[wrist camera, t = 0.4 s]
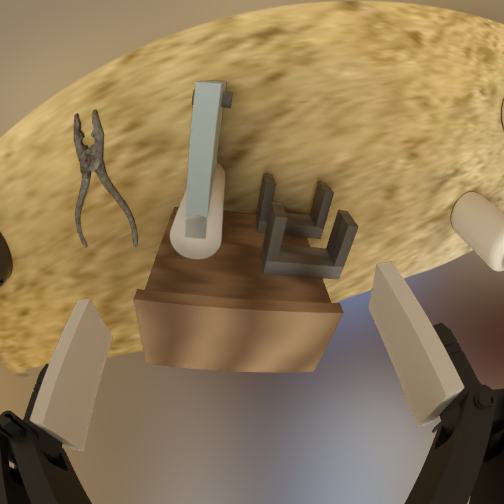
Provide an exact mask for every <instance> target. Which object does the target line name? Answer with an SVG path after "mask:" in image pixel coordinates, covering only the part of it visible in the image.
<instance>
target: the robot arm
mask: <svg viewBox="0 0 504 504" xmlns="http://www.w3.org/2000/svg"><path fill="white" fill-rule="evenodd" d="M11 272H12V260H11V255H10V252H9V249H8V247H7V244H6V242H5V240H4V239H3V237H2V235H1V234H0V287H1V286H2V285H3V284H4V283H5V282H6V281H7V279H8V278H9V276H10V275H11ZM368 308H369V311H370V313H371V315H372V317H373V319H374V322H375V324H376V326H377V328H378V330H379V333H380V335H381V337H382V340H383V342H384V344H385V347H386V349H387V351H388V354H389V356H390V358H391V361H392V363H393V366H394V368H395V371H396V373H397V376H398V378H399V381H400V383H401V386H402V389H403V391H404V394H405V396H406V399H407V402H408V404H409V407H410V410H411V412H412V416H413V419H414V421H415V424H416V427H417V428H418V427H421V426H423V425H426V424H428V423H431V422H433V421H434V420H435V419H436V418H437V417H438V416H440V418H441V422H440V423H439V424H438V425H436V427H434V429H433V431H432V432H433V433H434V432H435V431H436V430H437V429H438V430H437V433H436V436H435V438H434V441H433V444H432V446H431V448H430V451H429V454H428V456H427V458H426V461H425V463H424V465H423V467H422V470H421V472H420V474H419V476H418V478H417V480H416V483H415V484H414V486H413V489H412V490H411V492H410V494H409V496H408V498H407V500H406V502H405V504H467V503H468V500H469V498H470V501H469V504H504V389H496V390H492V389H491V388H490V387H488V386H486V385H482V384H480V382H479V381H478V379H477V377H476V375H475V373H474V372H473V369H472V367H471V365H470V364H469V362H468V360H467V358H466V356H465V354H464V352H463V351H462V350H461V347H460V345H459V344H458V343H457V340H456V338H455V337H454V335H453V333H452V331H451V330H450V329H448V328H447V327H446V326H445V325H444V324H443V323H439V324H436V325H433V326H432V324H431V323H430V321H429V319H428V317H427V316H426V314H425V312H424V311H423V309H422V307H421V306H420V304H419V302H418V301H417V300H416V298H415V296H414V294H413V293H412V291H411V290H410V288H409V287H408V285H407V283H406V282H405V280H404V279H403V277H402V276H401V274H400V273H399V271H398V270H397V268H396V267H395V265H394V264H393V262H392V261H391V262H385V263H379V264H377V266H376V271H375V277H374V282H373V288H372V293H371V298H370V303H369V307H368ZM112 339H113V335H112V334H111V332H110V331H109V329H108V328H107V326H106V325H105V323H104V321H103V320H102V318H101V317H100V315H99V313H98V312H97V310H96V308H95V307H94V305H93V303H92V302H91V300H90V299H83V300H78V301H77V303H76V305H75V307H74V309H73V311H72V313H71V315H70V317H69V320H68V322H67V324H66V326H65V328H64V330H63V333H62V335H61V337H60V339H59V342H58V344H57V346H56V349H55V351H54V353H53V356H52V358H51V361H50V363H49V364H46V365H45V367H44V368H43V369H42V370H41V372H40V374H39V377H38V379H37V384H35V387H34V392H33V393H32V395H31V398H30V401H29V405H28V407H27V410H26V413H25V417H24V419H23V420H21V419H20V418H19V417H18V416H16V415H15V414H14V413H13V412H11V411H5V412H3V413H2V414H1V415H0V504H92V503H91V502H90V500H89V498H88V496H87V494H86V492H85V491H84V489H83V487H82V485H81V483H80V481H79V479H78V477H77V475H76V473H75V471H74V469H73V467H72V465H71V463H70V461H69V458H68V456H67V454H66V452H65V450H64V449H63V448H62V443H63V444H65V445H66V446H68V447H69V448H72V449H76V450H80V451H84V447H85V442H86V437H87V432H88V428H89V423H90V419H91V414H92V410H93V406H94V402H95V398H96V394H97V390H98V387H99V383H100V379H101V376H102V372H103V368H104V365H105V362H106V358H107V355H108V352H109V349H110V345H111V342H112ZM9 461H10V462H12V463H14V465H15V466H14V469H13V468H11V467H9ZM470 495H471V496H470Z"/></svg>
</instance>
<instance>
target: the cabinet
mask: <svg viewBox="0 0 504 504" xmlns="http://www.w3.org/2000/svg"><path fill="white" fill-rule="evenodd" d="M275 185H276V184H275V182H274V179H273V176H272V175H267V174H263V180H262V186H261V192H260V198H259V204H258V210H257V215H255V214H245V213H234V212H224V211H223V221H222V238H221V244H220V247H219V249H218V250H217V251H216V252H215V253H214V254H213V255H211V256H210V257H207V258H204V259H190V258H187V257H184V256H182V255H181V254H179V253H178V252H177V251H176V250H175V249H174V247H173V246H172V244H171V241H170V231H171V228H172V225H173V222H174V219H175V217H176V214H177V211H178V208H176V207H175V208H174V210H173V213H172V215H171V218H170V221H169V223H168V226H167V228H166V231H165V234H164V236H163V239H162V242H161V245H160V247H159V250H158V253H157V256H156V259H155V262H154V264H153V267H152V270H151V273H150V276H149V279H148V282H147V285H146V288H145V290H140V289H137V291H136V294H135V297H134V304H135V310H136V315H137V321H138V326H139V331H140V335H141V340H142V345H143V349H144V353H145V358H146V362H147V364H155V365H163V366H171V367H182V368H192V369H204V370H205V369H206V370H219V371H240V372H313V371H314V369H315V367H316V365H317V364H318V362H319V360H320V358H321V356H322V354H323V353H324V351H325V349H326V347H327V345H328V343H329V341H330V339H331V337H332V335H333V333H334V331H335V330H336V328H337V326H338V323H339V321H340V319H341V317H342V315H343V310H342V308H341V305H340V303H331V301H330V298H329V295H328V292H327V290H326V287H325V284H324V282H323V279H322V278H327V279H339V277H340V275H341V272H342V270H343V267H344V265H345V262H346V259H347V257H348V254H349V251H350V249H351V246H352V243H353V240H354V238H355V235H356V232H357V229H358V225H357V224H356V223H355V221H354V220H353V218H352V217H351V216H350V214H349V213H348V211H342V210H338V213H337V216H336V219H335V222H334V226H333V229H332V232H331V235H330V238H329V241H328V245H327V248H326V249H323V248H312V247H310V245H309V243H308V240H307V238H316V239H321V236H322V232H323V229H324V226H325V222H326V219H327V215H328V212H329V208H330V205H331V201H332V198H333V194H334V193H333V191H332V190H331V189H330V187H329V186H328V185H327V184H326V183H322V182H318V186H317V190H316V194H315V198H314V202H313V206H312V209H311V213H310V215H304V214H296V213H288V212H285V210H284V207H283V204H282V202H274V201H273V196H274V190H275ZM306 237H307V238H306Z"/></svg>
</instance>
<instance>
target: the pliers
mask: <svg viewBox="0 0 504 504" xmlns="http://www.w3.org/2000/svg"><path fill="white" fill-rule="evenodd" d="M92 123H93V131H92V133H91V136H92V137H94V139H95V143H94V145H92V146H91V148H89V149H88V146H85V145H84V144H83V143H82V139H83V138H84V137H85V136H84V133H83V132H82V131H81V122H80V119H79V115H78V113H77V114H75V116H74V142H75V147H76V151H77V155H78V158H79V162H80V161H81V162H80V169H81V173H82V182H81V188H80V193H79V197H78V201H77V205H76V212H75V220H76V226H77V231H78V234H79V237H80V239H81V241H82V244H83V245H84V247H85V248H86V247H87V243H86V241H85V239H84V236H83V233H82V229H81V223H80V214H81V209H82V205H83V202H84V199H85V196H86V193H87V190H88V187H89V182H90V176H91V171H92V170H94V171H95V172H96V173H97V175H98V177H99V179H100V180H101V182H102V183H103V185H104V187H105V188H106V189H107V190H108V192H109V193H110V194H111V195H112V196H113V198H114V199H115V200H116V201H117V202H118V204H119V205H120V206H121V208H122V209H123V210H124V212H125V214H126V215H127V217H128V220H129V222H130V225H131V228H132V233H133V245H134V247H136V246H137V242H138V237H137V229H136V225H135V221H134V218H133V215H132V213H131V211H130V209H129V207H128V206H127V204H126V203H125V201H124V200H123V198H122V197H121V196H120V194H119V193H118V191H117V190H116V189H115V187H114V186H113V184H112V183H111V181H110V179H109V177H108V175H107V173H106V170H105V165H104V161H103V144H104V133H103V129H102V126H101V123H100V120H99V116H98V113H97V110H93V118H92ZM96 168H97V169H96Z"/></svg>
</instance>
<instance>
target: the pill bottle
mask: <svg viewBox="0 0 504 504" xmlns="http://www.w3.org/2000/svg"><path fill="white" fill-rule="evenodd" d="M451 223H452V227H453V229H454V230H455V231H456V233H457V234H458V235H459V236H460V237H461V238H462V239H463V240H464V241H465V242H466V243H467V244H468V245H469V246H470V247H471V248H472V249H473V250H474V251H476V253H477V254H478V255H479V256H480V257H481V258H482V259H483V260H484V261H485V262H486V263H487V264H488V266H489V267H490V268H491V269H493V270H495V271H503V270H504V212H502V211H501V210H500V209H499V208H497V207H496V206H495V205H493V204H492V203H491V202H489V201H488V200H487V199H485V198H484V197H483V196H481V195H480V194H478V193H476V192H468V193H465V194H464V195H462V196H461V197H460V198H459V200H458V201H457V202H456V204H455V206H454V208H453V211H452V215H451Z"/></svg>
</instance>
